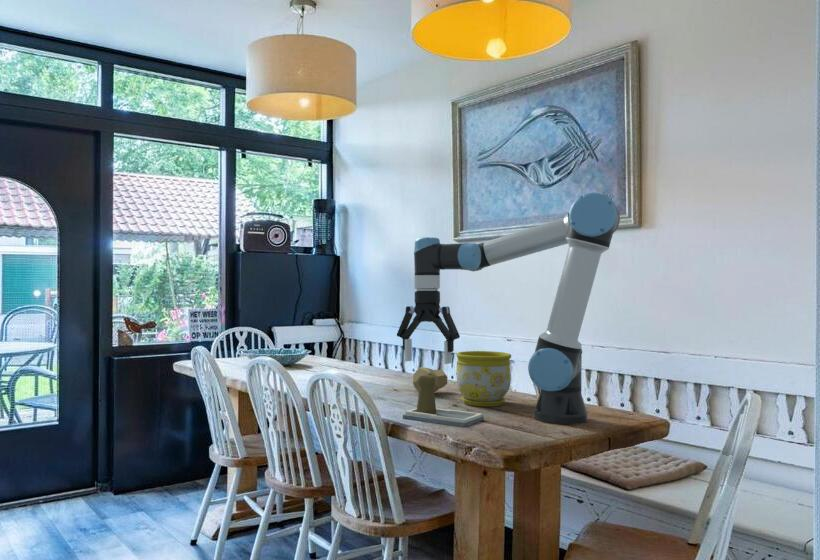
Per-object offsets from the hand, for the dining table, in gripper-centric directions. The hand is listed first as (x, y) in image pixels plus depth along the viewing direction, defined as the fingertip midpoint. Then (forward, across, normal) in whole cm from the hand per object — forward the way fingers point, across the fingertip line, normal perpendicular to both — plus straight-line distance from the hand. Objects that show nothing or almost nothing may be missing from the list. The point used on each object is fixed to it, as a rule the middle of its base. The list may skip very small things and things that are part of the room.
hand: (427, 362), depth 188 cm
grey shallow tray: (+16, -5, 0) cm, 17 cm away
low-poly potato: (+16, +21, -36) cm, 44 cm away
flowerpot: (+16, -3, -30) cm, 34 cm away
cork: (+15, +1, 0) cm, 15 cm away
